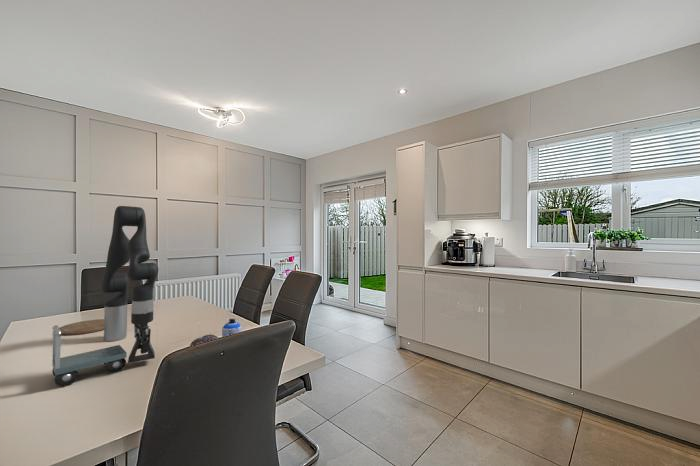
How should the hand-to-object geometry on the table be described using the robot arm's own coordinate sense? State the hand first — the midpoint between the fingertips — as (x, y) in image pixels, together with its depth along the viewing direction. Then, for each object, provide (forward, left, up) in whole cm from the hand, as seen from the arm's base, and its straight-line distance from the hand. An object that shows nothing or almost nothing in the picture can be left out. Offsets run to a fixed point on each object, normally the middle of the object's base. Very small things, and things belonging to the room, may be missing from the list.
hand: (141, 350), depth 121 cm
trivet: (-78, -8, -6) cm, 78 cm away
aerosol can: (+30, +24, -6) cm, 39 cm away
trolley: (-5, -16, -6) cm, 17 cm away
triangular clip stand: (0, 0, -3) cm, 3 cm away
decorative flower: (+16, +18, -6) cm, 25 cm away
